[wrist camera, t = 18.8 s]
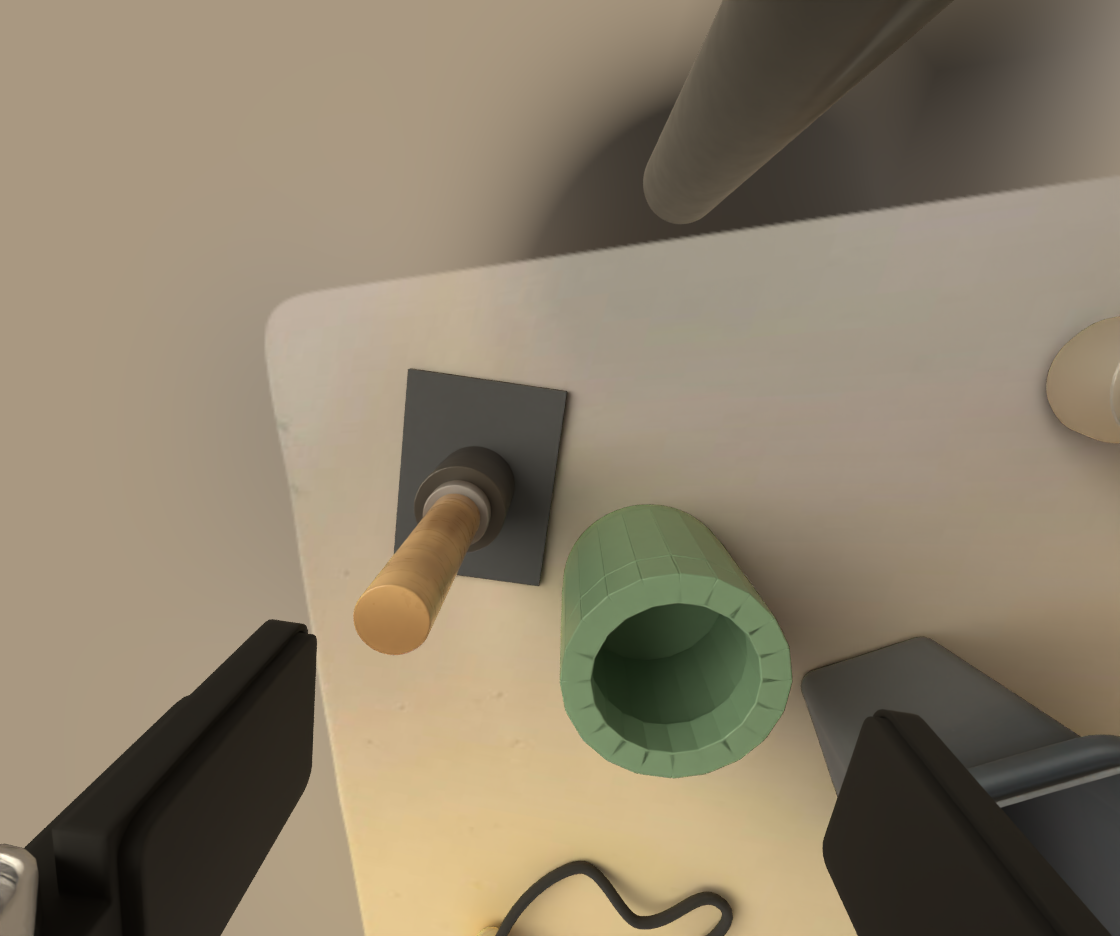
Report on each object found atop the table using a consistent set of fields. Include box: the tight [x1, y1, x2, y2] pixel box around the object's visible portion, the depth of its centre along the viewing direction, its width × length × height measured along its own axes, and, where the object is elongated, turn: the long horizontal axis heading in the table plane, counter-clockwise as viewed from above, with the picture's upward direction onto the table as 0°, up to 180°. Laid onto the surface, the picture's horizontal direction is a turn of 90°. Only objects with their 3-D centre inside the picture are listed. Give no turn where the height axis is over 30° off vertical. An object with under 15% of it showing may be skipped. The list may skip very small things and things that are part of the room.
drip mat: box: [394, 369, 567, 586], centre depth 33 cm, size 12×9×1 cm
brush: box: [354, 446, 515, 655], centre depth 25 cm, size 5×5×16 cm
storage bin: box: [801, 637, 1120, 936], centre depth 30 cm, size 21×16×14 cm
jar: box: [560, 504, 792, 778], centre depth 30 cm, size 10×10×10 cm
